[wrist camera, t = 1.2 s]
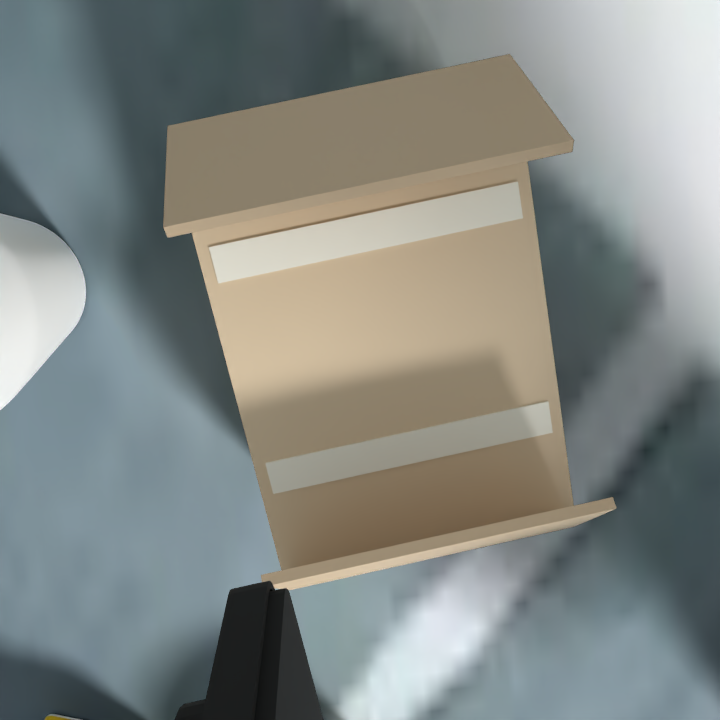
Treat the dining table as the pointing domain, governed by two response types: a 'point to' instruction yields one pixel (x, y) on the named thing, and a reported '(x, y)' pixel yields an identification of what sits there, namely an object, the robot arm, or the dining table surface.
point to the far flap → (438, 545)
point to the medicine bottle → (59, 717)
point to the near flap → (355, 143)
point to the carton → (392, 363)
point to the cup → (34, 299)
